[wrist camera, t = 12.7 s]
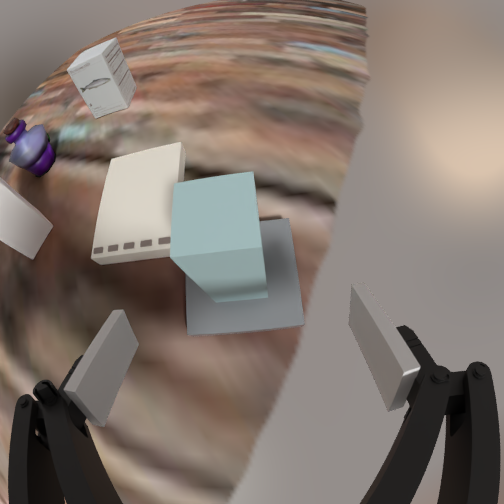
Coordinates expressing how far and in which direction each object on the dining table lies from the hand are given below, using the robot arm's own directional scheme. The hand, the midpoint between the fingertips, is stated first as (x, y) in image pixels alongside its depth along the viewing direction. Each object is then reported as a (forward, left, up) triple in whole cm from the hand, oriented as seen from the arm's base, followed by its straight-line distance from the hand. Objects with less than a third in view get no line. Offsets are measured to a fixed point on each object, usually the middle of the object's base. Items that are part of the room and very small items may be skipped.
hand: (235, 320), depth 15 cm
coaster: (-5, +2, -9) cm, 11 cm away
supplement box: (-46, -1, -10) cm, 47 cm away
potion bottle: (-42, -18, -10) cm, 46 cm away
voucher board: (-19, -3, -9) cm, 21 cm away
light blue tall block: (-5, +2, -8) cm, 9 cm away
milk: (-27, -21, -10) cm, 35 cm away
